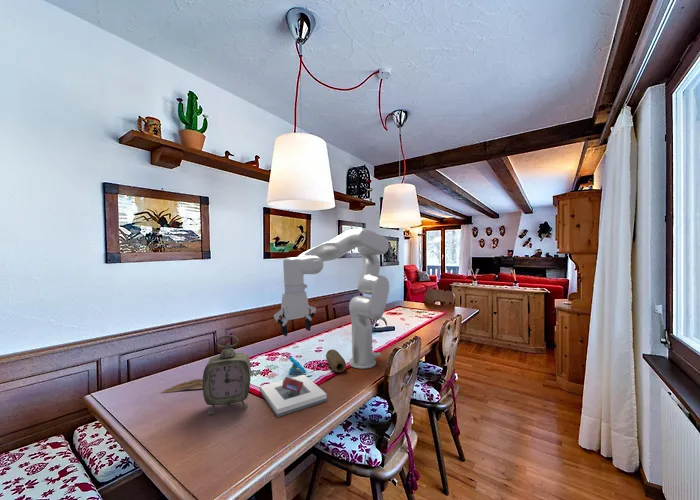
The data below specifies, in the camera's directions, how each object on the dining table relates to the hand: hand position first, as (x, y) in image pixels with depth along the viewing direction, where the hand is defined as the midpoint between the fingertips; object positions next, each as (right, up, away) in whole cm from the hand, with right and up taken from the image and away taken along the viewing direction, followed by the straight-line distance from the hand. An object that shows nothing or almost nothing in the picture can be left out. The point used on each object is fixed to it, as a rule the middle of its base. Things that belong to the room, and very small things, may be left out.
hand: (296, 332), depth 115 cm
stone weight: (+14, -22, +19) cm, 32 cm away
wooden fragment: (-41, -23, +4) cm, 47 cm away
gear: (-3, -22, +15) cm, 27 cm away
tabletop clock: (-21, -22, -14) cm, 33 cm away
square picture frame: (0, -22, -7) cm, 23 cm away
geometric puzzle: (0, -21, -7) cm, 22 cm away
